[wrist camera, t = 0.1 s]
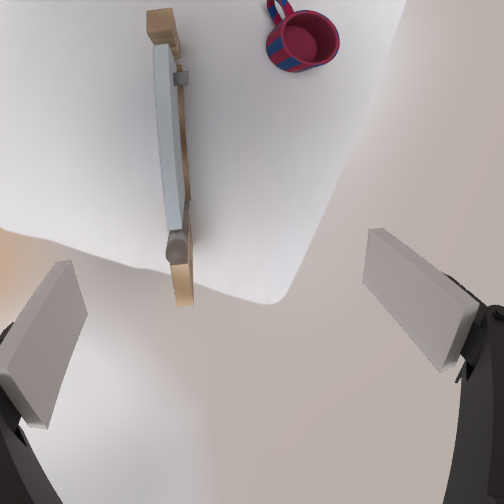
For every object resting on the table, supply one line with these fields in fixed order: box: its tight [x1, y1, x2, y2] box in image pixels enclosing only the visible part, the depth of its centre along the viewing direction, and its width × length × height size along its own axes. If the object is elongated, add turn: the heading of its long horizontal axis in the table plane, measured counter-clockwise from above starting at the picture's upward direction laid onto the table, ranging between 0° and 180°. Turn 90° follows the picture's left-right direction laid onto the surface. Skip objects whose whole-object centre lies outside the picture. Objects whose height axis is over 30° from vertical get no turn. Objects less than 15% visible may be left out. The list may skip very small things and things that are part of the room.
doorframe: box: [147, 8, 194, 307], centre depth 30 cm, size 26×2×15 cm, turn 2°
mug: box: [266, 0, 340, 72], centre depth 30 cm, size 7×10×7 cm
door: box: [153, 44, 188, 231], centre depth 30 cm, size 16×3×13 cm, turn 2°
